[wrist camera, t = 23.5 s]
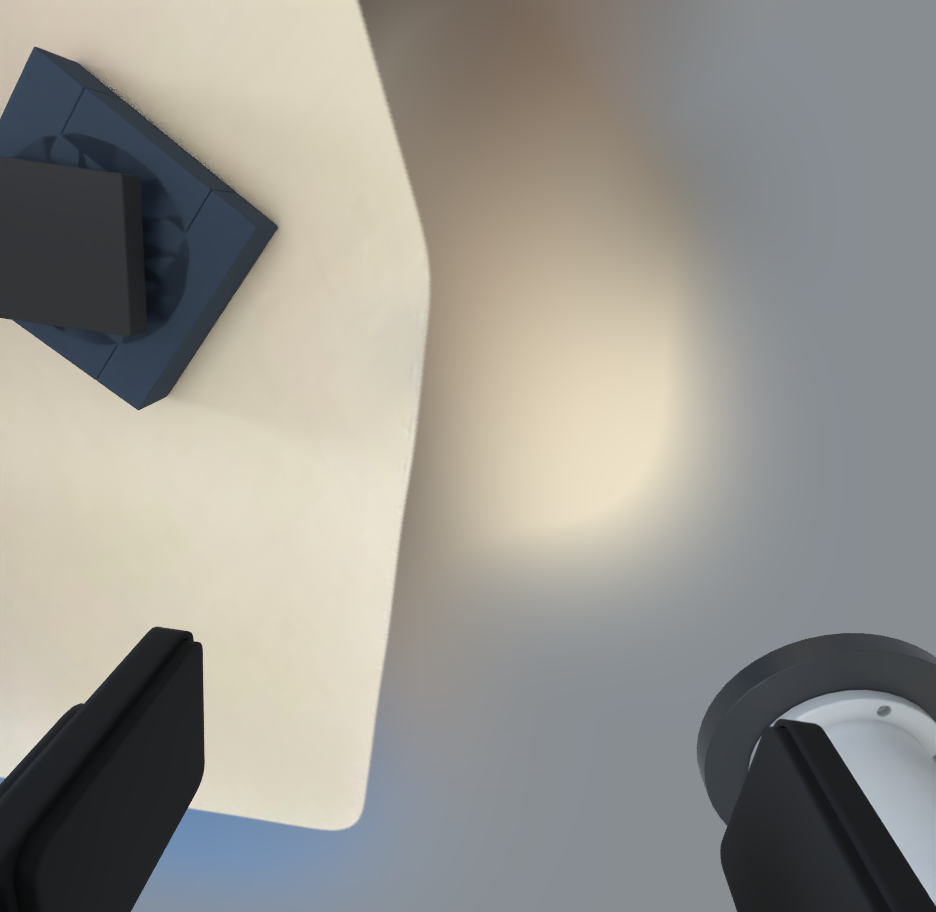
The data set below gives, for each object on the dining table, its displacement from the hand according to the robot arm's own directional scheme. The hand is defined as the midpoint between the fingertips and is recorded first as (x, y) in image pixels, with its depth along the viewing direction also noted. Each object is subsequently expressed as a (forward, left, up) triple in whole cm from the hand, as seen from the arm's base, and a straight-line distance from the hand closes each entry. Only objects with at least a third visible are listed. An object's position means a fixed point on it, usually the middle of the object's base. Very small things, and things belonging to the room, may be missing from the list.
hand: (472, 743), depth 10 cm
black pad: (+20, +7, -26) cm, 34 cm away
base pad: (+20, +7, -26) cm, 34 cm away
